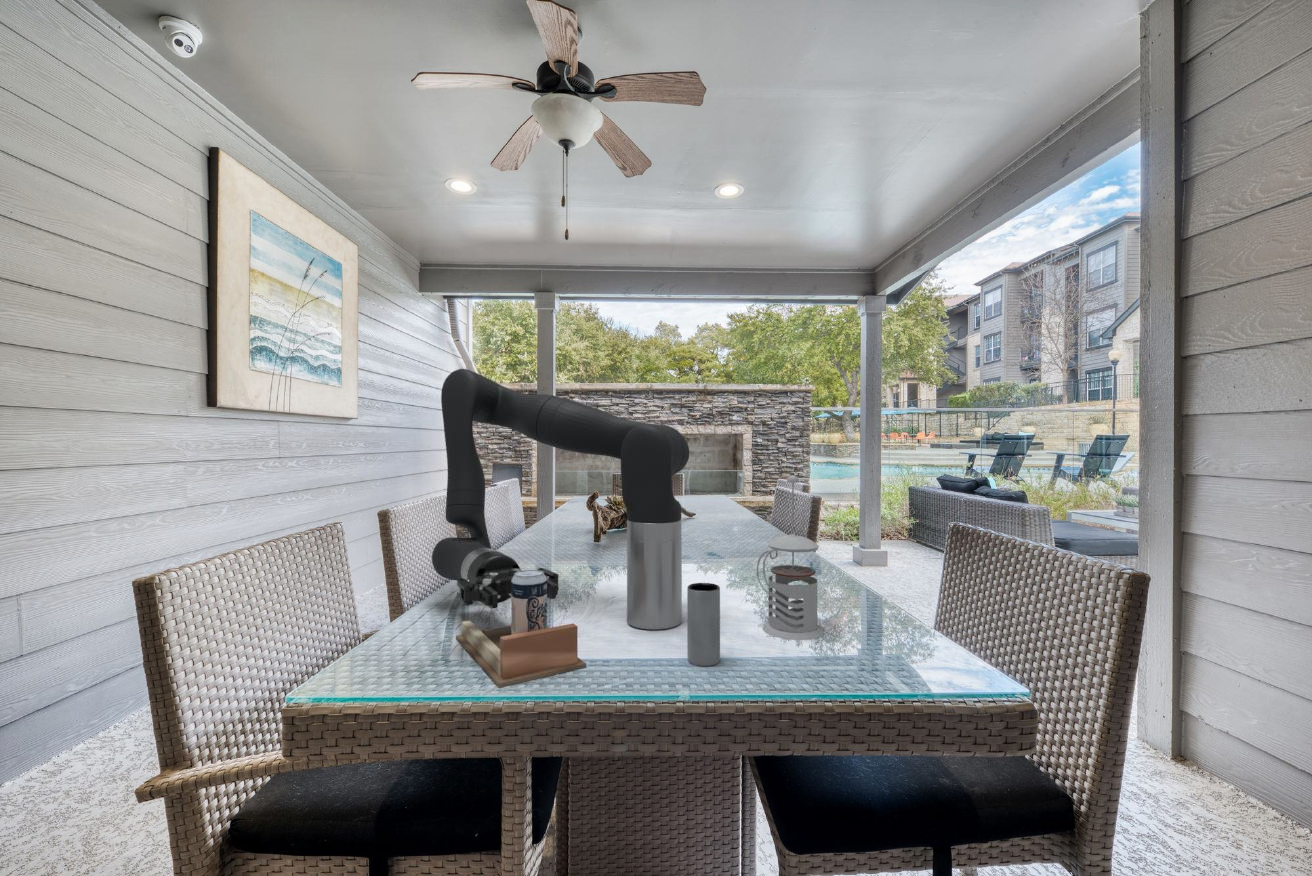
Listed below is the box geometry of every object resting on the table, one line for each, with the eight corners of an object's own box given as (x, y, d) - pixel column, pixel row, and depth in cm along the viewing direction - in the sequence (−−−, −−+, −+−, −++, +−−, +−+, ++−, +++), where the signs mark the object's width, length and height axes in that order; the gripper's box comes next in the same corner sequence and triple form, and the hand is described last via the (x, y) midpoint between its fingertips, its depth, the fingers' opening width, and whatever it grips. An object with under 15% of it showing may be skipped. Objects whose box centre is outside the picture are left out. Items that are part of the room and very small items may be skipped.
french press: (800, 644, 88) (800, 478, 88) (741, 626, 97) (741, 474, 97) (836, 630, 95) (836, 475, 95) (777, 614, 103) (777, 472, 103)
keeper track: (455, 638, 91) (455, 603, 91) (530, 625, 97) (530, 592, 97) (498, 687, 73) (498, 643, 73) (586, 667, 80) (586, 626, 80)
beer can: (538, 668, 78) (538, 577, 78) (505, 665, 79) (505, 576, 79) (552, 655, 83) (552, 569, 83) (520, 652, 83) (520, 568, 83)
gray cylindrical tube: (723, 656, 83) (723, 584, 83) (715, 668, 79) (715, 592, 79) (692, 652, 85) (692, 581, 85) (683, 664, 81) (683, 589, 81)
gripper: (444, 555, 92) (474, 576, 78) (531, 546, 100) (572, 563, 86) (444, 603, 92) (474, 632, 78) (531, 590, 100) (572, 614, 86)
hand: (525, 596), depth 82 cm, fingers open, 8 cm apart
